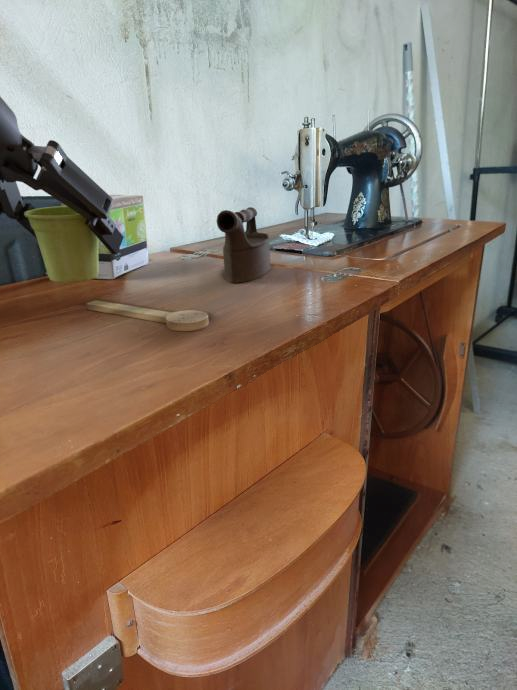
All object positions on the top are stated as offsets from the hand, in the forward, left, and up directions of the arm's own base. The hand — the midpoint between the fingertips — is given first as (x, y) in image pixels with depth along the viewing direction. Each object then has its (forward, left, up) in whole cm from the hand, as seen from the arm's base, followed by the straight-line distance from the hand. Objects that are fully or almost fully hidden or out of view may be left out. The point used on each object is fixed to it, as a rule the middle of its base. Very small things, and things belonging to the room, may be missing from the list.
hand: (85, 243), depth 69 cm
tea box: (-24, +28, -12) cm, 39 cm away
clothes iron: (+3, +35, -12) cm, 37 cm away
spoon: (+3, +7, -12) cm, 14 cm away
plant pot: (0, -3, -4) cm, 5 cm away
